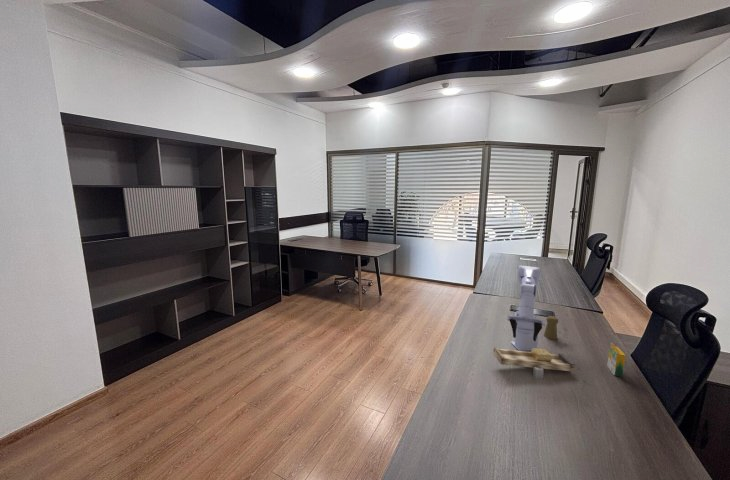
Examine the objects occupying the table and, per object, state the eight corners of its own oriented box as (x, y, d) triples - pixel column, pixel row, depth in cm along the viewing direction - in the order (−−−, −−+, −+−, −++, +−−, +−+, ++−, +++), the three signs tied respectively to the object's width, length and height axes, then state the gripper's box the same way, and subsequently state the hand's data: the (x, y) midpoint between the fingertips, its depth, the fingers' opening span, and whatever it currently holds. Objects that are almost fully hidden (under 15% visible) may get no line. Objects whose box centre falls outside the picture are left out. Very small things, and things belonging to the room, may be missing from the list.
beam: (560, 361, 132) (562, 353, 131) (573, 373, 123) (575, 364, 122) (492, 354, 131) (493, 346, 131) (501, 366, 123) (502, 357, 122)
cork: (555, 334, 157) (557, 315, 155) (558, 340, 151) (561, 320, 149) (542, 333, 159) (544, 314, 157) (545, 338, 153) (547, 318, 151)
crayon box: (622, 377, 121) (627, 351, 119) (614, 375, 122) (617, 350, 120) (615, 367, 128) (618, 342, 126) (606, 365, 129) (610, 341, 127)
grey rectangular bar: (525, 359, 134) (526, 351, 134) (542, 378, 121) (543, 369, 120) (518, 359, 134) (519, 351, 134) (535, 378, 121) (536, 369, 120)
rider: (543, 357, 129) (545, 349, 129) (550, 364, 124) (552, 355, 124) (530, 356, 129) (532, 347, 129) (536, 362, 124) (538, 354, 124)
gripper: (507, 303, 133) (503, 332, 127) (544, 307, 124) (542, 339, 118) (510, 309, 137) (507, 337, 131) (546, 313, 128) (544, 344, 123)
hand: (524, 338), depth 125 cm, fingers open, 7 cm apart
